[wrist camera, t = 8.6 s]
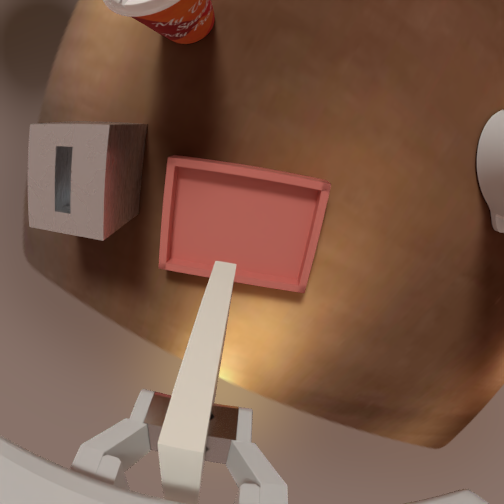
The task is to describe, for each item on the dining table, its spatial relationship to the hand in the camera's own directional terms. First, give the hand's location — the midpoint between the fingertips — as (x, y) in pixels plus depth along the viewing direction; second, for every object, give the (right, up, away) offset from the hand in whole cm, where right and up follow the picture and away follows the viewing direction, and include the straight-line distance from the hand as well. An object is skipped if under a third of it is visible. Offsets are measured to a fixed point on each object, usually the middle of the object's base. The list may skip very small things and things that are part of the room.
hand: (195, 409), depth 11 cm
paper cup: (-4, +30, +15) cm, 34 cm away
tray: (+1, +9, +23) cm, 25 cm away
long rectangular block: (0, +3, +8) cm, 9 cm away
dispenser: (-14, +16, +21) cm, 30 cm away
